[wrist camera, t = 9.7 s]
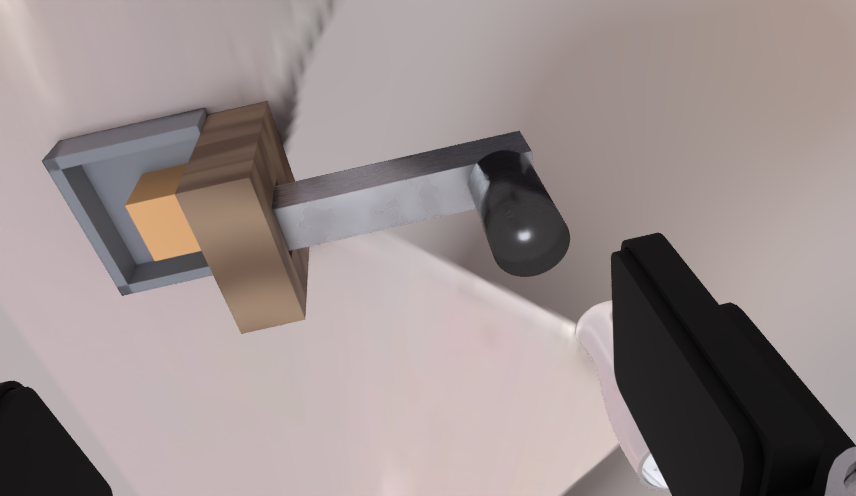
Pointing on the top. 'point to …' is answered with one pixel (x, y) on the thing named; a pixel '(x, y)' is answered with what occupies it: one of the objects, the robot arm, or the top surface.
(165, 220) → the spacer block
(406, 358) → the top surface
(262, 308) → the brown wooden block
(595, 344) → the beer glass
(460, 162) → the grey piece
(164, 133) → the tray
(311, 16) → the top surface
